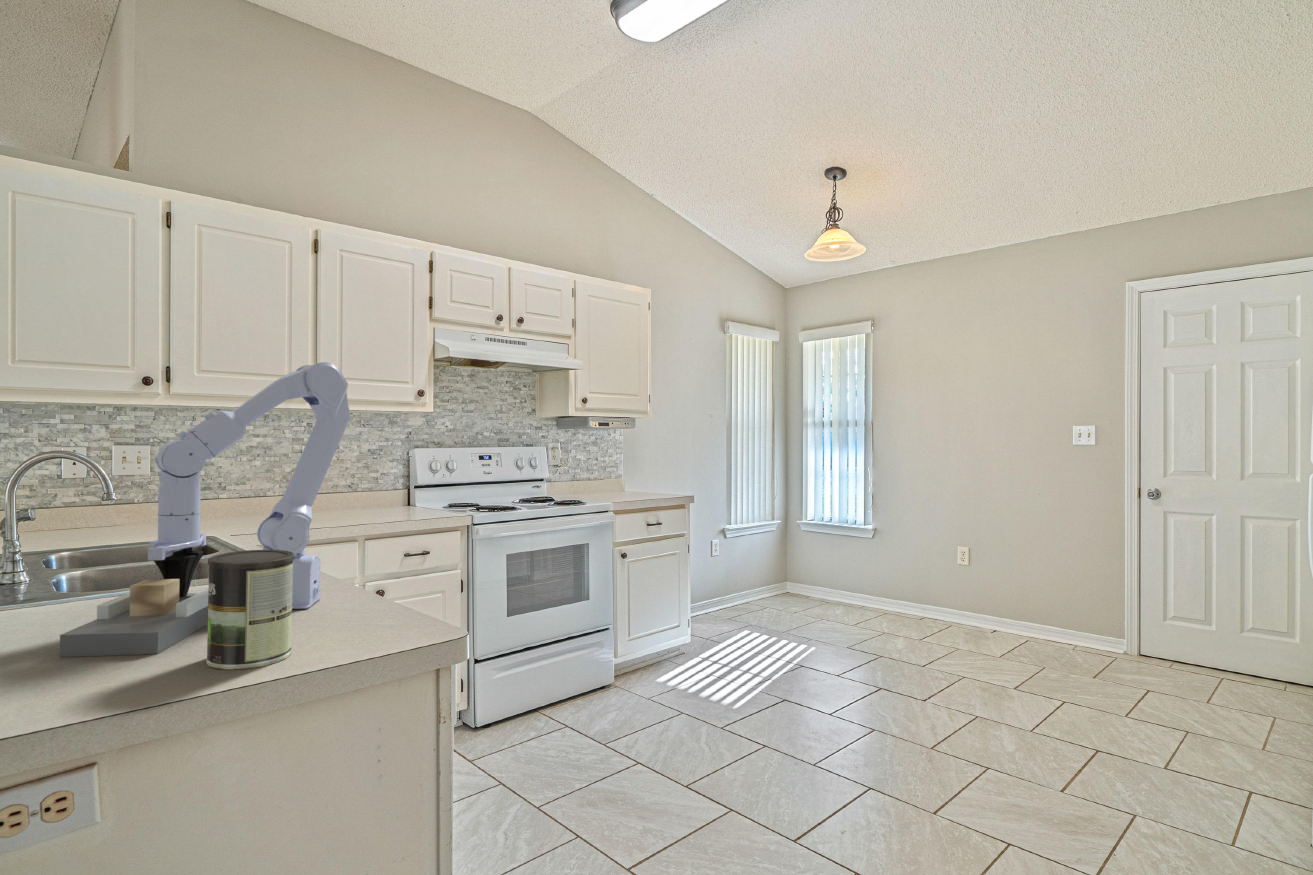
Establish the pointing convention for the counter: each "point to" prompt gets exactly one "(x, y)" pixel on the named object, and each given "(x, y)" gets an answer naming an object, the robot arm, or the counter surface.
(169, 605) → the block
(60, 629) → the counter surface
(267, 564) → the coffee can
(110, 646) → the grey railed base
